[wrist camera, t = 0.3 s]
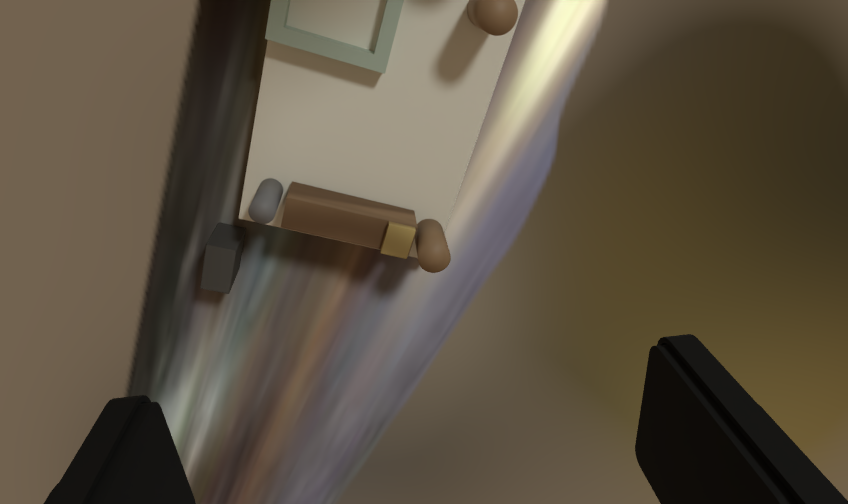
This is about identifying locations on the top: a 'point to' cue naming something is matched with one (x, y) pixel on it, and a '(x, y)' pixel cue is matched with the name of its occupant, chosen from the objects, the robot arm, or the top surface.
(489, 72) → the seat board
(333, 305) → the top surface
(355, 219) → the hinged leg
